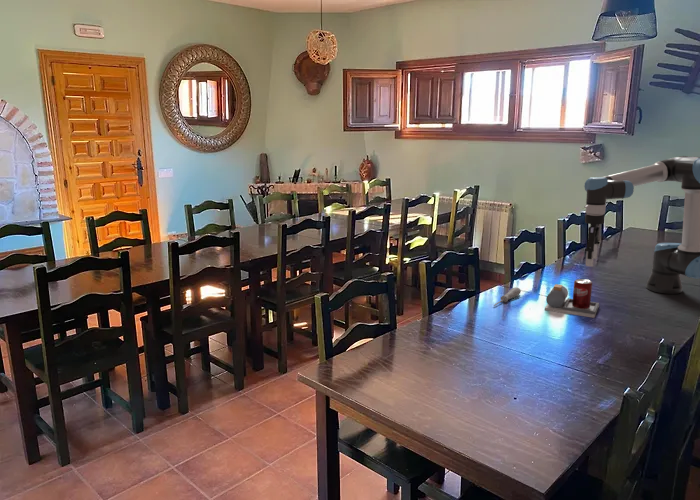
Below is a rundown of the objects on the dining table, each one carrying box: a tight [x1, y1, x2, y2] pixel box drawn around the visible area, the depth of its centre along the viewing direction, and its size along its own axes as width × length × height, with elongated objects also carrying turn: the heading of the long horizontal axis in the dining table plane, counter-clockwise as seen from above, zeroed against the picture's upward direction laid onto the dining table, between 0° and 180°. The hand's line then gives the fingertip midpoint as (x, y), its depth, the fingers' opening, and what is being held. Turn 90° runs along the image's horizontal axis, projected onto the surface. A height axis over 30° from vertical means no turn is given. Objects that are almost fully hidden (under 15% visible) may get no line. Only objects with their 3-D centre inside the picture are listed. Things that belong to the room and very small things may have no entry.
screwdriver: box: [493, 286, 522, 307], centre depth 241 cm, size 5×25×4 cm, turn 136°
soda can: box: [572, 278, 593, 310], centre depth 226 cm, size 7×7×12 cm
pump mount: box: [544, 283, 600, 319], centre depth 229 cm, size 20×16×9 cm
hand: (591, 262), depth 225 cm, fingers open, 13 cm apart
